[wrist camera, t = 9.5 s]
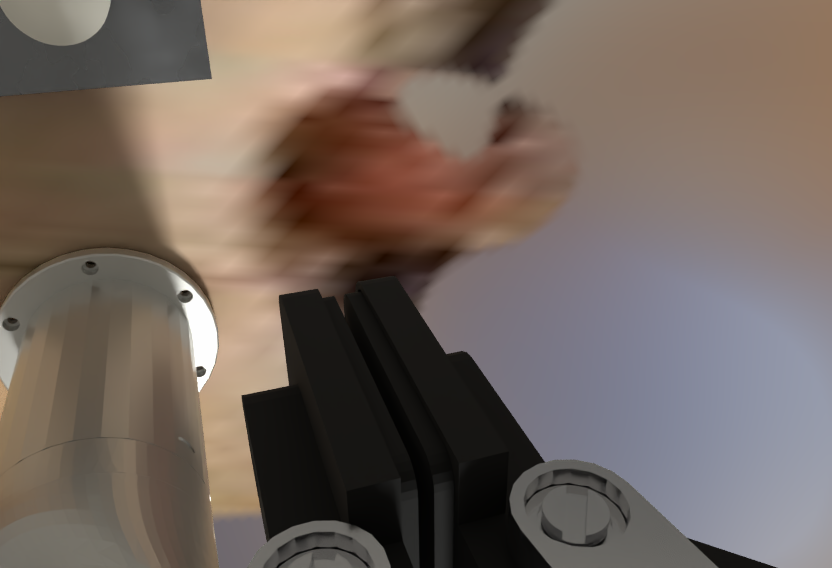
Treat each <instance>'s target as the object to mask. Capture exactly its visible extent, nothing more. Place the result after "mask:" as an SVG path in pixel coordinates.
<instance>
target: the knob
mask: <svg viewBox="0 0 832 568" xmlns="http://www.w3.org/2000/svg"><path fill="white" fill-rule="evenodd" d="M110 4H111V0H0V6H1V9H2V10H3V12H4V13H5V15H6V16H7V18H8V19H9V20H10V21H11V22H12V23H13V24H14V25H15V26H16V27H17V28H18V29H19V30H20V31H22V32H23V33H24V34H26V35H27V36H29V37H31V38H33V39H35V40H37V41H40V42H42V43H46V44H50V45H57V46H68V45H74V44H78V43H81V42H83V41H86V40H87V39H89V38H91V37H92V36H93V35H94V34H96V33H97V32H98V31H99V29H100V28H101V27H102V25H103V24H104V22H105V20H106V18H107V15H108V12H109V8H110Z"/></svg>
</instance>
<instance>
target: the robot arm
mask: <svg viewBox="0 0 832 568" xmlns="http://www.w3.org/2000/svg"><path fill="white" fill-rule="evenodd" d="M87 261H93V262H95V264H93V265H89V264H87ZM183 290H189V291H188V292H186V293H183V292H181V291H183ZM279 306H280V315H281V323H282V331H283V339H284V347H285V355H286V364H287V372H288V380H289V386H287V387H282V388H277V389H272V390H267V391H262V392H257V393H252V394H247V395H242V403H243V410H244V416H245V422H246V428H247V434H248V440H249V446H250V452H251V458H252V464H253V470H254V475H255V481H256V486H257V492H258V497H259V503H260V508H261V513H262V519H263V524H264V529H265V534H266V540H267V543H266V544H265V545H264V546H263V547H261V548H260V549H259V550H258V551H257V553H256V554H255V556H254V558H253V559H252V561H251V562H250V564H249V566H248V567H247V568H776V567H773V566H770V565H767V564H764V563H761V562H758V561H755V560H752V559H749V558H746V557H743V556H740V555H737V554H734V553H731V552H728V551H725V550H722V549H719V548H716V547H713V546H710V545H707V544H704V543H701V542H698V541H695V540H692V539H689V538H686V537H685V536H684V535H683V534H682V533H681V532H680V531H679V530H678V529H676V527H675V526H674V525H672V524H671V523H670V522H669V521H668V520H667V519H666V518H665V517H664V516H663V515H662V514H661V513H660V512H658V511H657V509H655V508H654V507H653V506H652V505H651V504H650V503H649V502H648V501H647V500H646V499H645V498H644V497H643V496H642V495H641V494H640V493H638V492H637V491H636V490H635V489H634V488H633V487H632V486H631V485H630V484H629V483H628V482H626V481H625V480H624V479H622V478H621V477H619V476H618V475H617V474H615V473H614V472H612V471H610V470H607V469H606V468H603V467H601V466H598V465H596V464H593V463H588V462H584V461H579V460H553V461H549V462H544V460H543V459H542V457H541V456H540V454H539V453H538V452H537V450H536V449H535V448H534V446H533V444H532V443H531V442H530V440H529V439H528V437H527V436H526V434H525V433H524V431H523V430H522V429H521V427H520V426H519V424H518V423H517V422H516V420H515V419H514V417H513V416H512V414H511V413H510V411H509V410H508V409H507V407H506V406H505V404H504V403H503V402H502V400H501V399H500V397H499V396H498V394H497V393H496V392H495V390H494V389H493V387H492V386H491V384H490V383H489V382H488V380H487V379H486V377H485V376H484V374H483V373H482V371H481V370H480V369H479V367H478V366H477V364H476V363H475V361H474V360H473V359H472V357H471V356H470V355H469V354H468V353H467V352H463V351H460V352H455V353H451V354H446V353H445V352H444V350H443V349H442V347H441V346H440V344H439V342H438V341H437V340H436V338H435V336H434V335H433V333H432V332H431V330H430V329H429V327H428V326H427V324H426V323H425V321H424V319H423V318H422V316H421V315H420V313H419V312H418V310H417V309H416V307H415V306H414V304H413V302H412V301H411V299H410V298H409V296H408V295H407V293H406V292H405V290H404V289H403V287H402V285H401V284H400V282H399V281H398V279H397V278H396V277H395V276H391V277H385V278H379V279H373V280H367V281H361V282H357V284H356V292H355V293H349V294H345V295H344V313H345V318H344V316H343V313H342V311H341V309H340V307H339V305H338V303H337V301H336V299H335V297H334V296H332V297H326V298H322V296H321V294H320V292H319V290H318V289H314V290H308V291H302V292H296V293H290V294H284V295H279ZM10 318H15V319H16V320H12V319H10ZM218 348H219V341H218V328H217V323H216V318H215V314H214V312H213V310H212V307H211V305H210V302H209V300H208V299H207V297H206V296H205V294H204V293H203V291H202V290H201V289H200V287H199V286H198V285H197V284H196V283H195V282H194V281H193V280H192V279H191V278H190V277H189V276H188V275H187V274H186V273H185V272H183V271H181V270H180V269H178V268H177V267H175V266H174V265H172V264H170V263H169V262H167V261H165V260H162V259H160V258H157V257H155V256H153V255H150V254H147V253H143V252H138V251H134V250H129V249H120V248H95V249H85V250H79V251H76V252H72V253H68V254H64V255H61V256H58V257H56V258H54V259H52V260H50V261H48V262H45V263H43V264H41V265H40V266H38V267H37V268H35V269H34V270H32V271H31V272H30V273H28V274H27V275H25V276H24V277H23V278H22V279H21V280H20V281H19V282H18V283H17V284H16V285H15V286H14V288H13V289H12V290H11V291H10V292H9V294H8V295H7V297H6V299H5V300H4V302H3V304H2V306H1V307H0V379H1V381H2V383H3V384H4V386H5V387H6V389H7V390H8V393H7V397H6V401H5V405H4V408H3V412H2V416H1V420H0V568H219V562H218V555H217V548H216V542H215V533H214V525H213V516H212V508H211V498H210V489H209V480H208V471H207V462H206V453H205V444H204V435H203V426H202V417H201V408H200V399H199V392H200V391H201V389H202V388H203V386H204V385H205V383H206V382H207V381H208V379H209V378H210V375H211V373H212V370H213V368H214V366H215V363H216V359H217V353H218ZM198 366H199V367H198Z"/></svg>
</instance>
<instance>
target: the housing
mask: <svg viewBox="0 0 832 568" xmlns="http://www.w3.org/2000/svg"><path fill="white" fill-rule="evenodd" d="M203 79H212V77H211V70H210V63H209V56H208V49H207V43H206V36H205V29H204V22H203V15H202V8H201V1H200V0H111V4H110V8H109V12H108V15H107V18H106V20H105V22H104V24H103V25H102V27H101V28H100V29H99V31H98V32H97V33H96V34H94V35H93V36H92V37H91V38H89V39H87V40H86V41H83V42H81V43H78V44H74V45H68V46H57V45H50V44H46V43H42V42H40V41H37V40H35V39H33V38H31V37H29V36H27V35H26V34H24V33H23V32H22V31H20V30H19V29H18V28H17V27H16V26H15V25H14V24H13V23H12V22H11V21H10V20H9V19H8V18H7V16H6V15H5V13H4V12H3V10H2V9H1V6H0V96H10V95H22V94H34V93H46V92H58V91H70V90H82V89H94V88H106V87H119V86H131V85H143V84H155V83H167V82H179V81H191V80H203Z"/></svg>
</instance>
